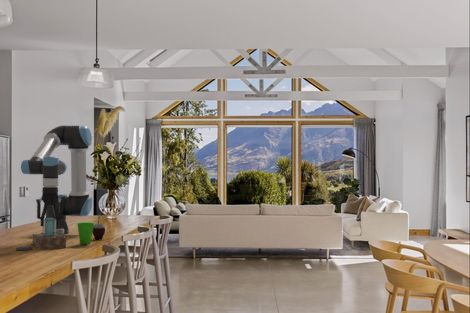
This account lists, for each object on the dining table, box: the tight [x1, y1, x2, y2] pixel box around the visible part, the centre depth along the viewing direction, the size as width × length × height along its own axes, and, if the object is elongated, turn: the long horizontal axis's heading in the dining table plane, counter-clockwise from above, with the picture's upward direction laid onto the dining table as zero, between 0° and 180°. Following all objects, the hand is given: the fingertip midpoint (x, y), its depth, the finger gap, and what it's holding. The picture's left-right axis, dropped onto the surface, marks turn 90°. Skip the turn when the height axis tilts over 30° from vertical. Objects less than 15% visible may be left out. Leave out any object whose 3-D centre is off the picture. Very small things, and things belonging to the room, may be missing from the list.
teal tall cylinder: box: [44, 217, 54, 237], centre depth 275 cm, size 5×5×14 cm
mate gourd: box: [92, 212, 106, 240], centre depth 302 cm, size 8×8×15 cm
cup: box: [76, 221, 96, 245], centre depth 283 cm, size 9×9×11 cm
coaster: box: [15, 246, 33, 252], centre depth 261 cm, size 7×7×1 cm
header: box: [31, 229, 67, 250], centre depth 275 cm, size 12×20×9 cm, turn 32°
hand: (49, 232), depth 275 cm, fingers closed on teal tall cylinder, 5 cm apart
